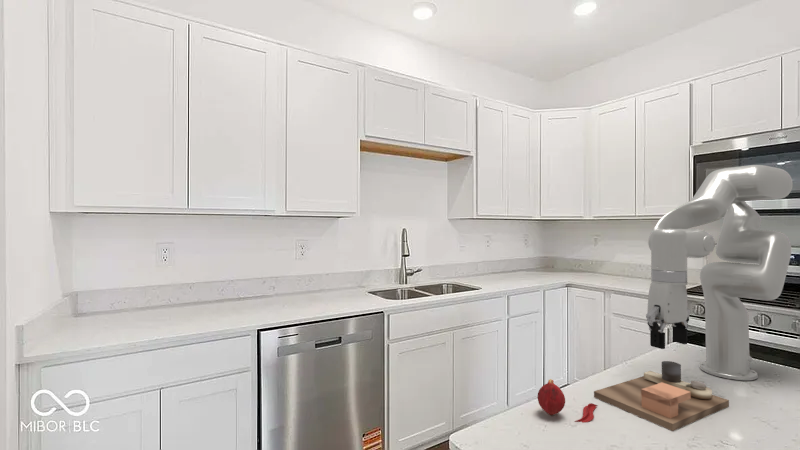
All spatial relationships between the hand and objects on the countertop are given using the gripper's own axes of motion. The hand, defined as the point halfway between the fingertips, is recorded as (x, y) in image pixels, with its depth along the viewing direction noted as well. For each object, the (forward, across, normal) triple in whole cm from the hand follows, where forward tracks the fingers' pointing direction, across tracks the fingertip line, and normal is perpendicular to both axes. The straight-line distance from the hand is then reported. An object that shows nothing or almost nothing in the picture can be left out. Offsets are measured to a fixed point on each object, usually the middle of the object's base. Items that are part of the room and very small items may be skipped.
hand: (669, 345), depth 97 cm
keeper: (+11, +12, +6) cm, 18 cm away
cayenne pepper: (+14, +27, -3) cm, 30 cm away
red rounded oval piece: (+13, +35, -6) cm, 38 cm away
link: (+10, -1, +1) cm, 10 cm away
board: (+12, +7, +2) cm, 14 cm away
